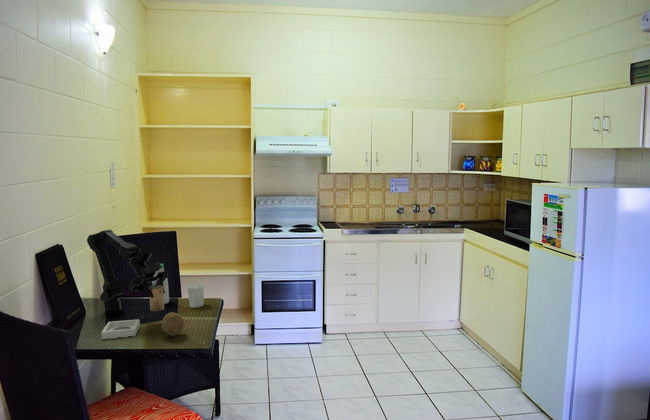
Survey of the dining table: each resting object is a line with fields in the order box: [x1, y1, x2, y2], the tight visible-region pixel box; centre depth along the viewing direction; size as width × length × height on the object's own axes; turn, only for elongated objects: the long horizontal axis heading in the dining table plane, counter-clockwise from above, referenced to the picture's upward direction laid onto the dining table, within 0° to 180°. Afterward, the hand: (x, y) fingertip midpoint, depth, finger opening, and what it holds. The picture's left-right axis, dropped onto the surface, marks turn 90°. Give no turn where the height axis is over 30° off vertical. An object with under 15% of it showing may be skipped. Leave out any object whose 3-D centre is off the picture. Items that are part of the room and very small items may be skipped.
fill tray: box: [101, 319, 141, 340], centre depth 215 cm, size 13×13×3 cm
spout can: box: [148, 285, 165, 312], centre depth 225 cm, size 8×6×11 cm
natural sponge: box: [160, 312, 185, 337], centre depth 209 cm, size 9×9×10 cm
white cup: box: [186, 283, 205, 309], centre depth 250 cm, size 8×8×10 cm
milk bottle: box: [151, 263, 170, 305], centre depth 255 cm, size 8×8×20 cm
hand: (158, 295), depth 224 cm, fingers closed on spout can, 6 cm apart
